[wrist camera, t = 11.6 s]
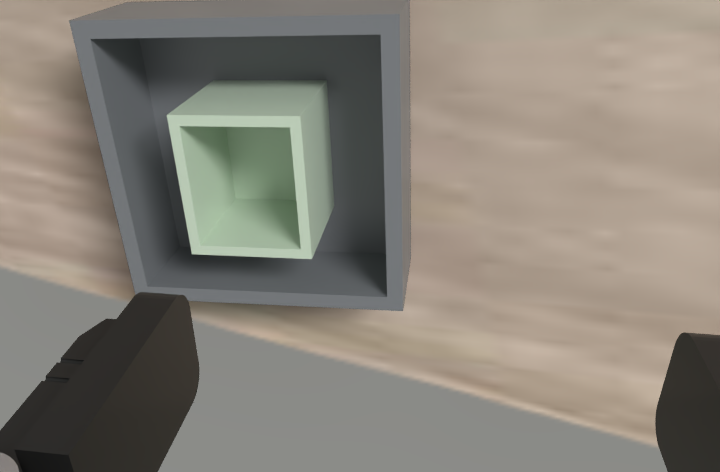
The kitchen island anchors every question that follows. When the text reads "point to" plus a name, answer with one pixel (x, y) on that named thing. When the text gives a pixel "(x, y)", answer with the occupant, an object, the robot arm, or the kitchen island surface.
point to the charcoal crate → (258, 62)
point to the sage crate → (255, 167)
